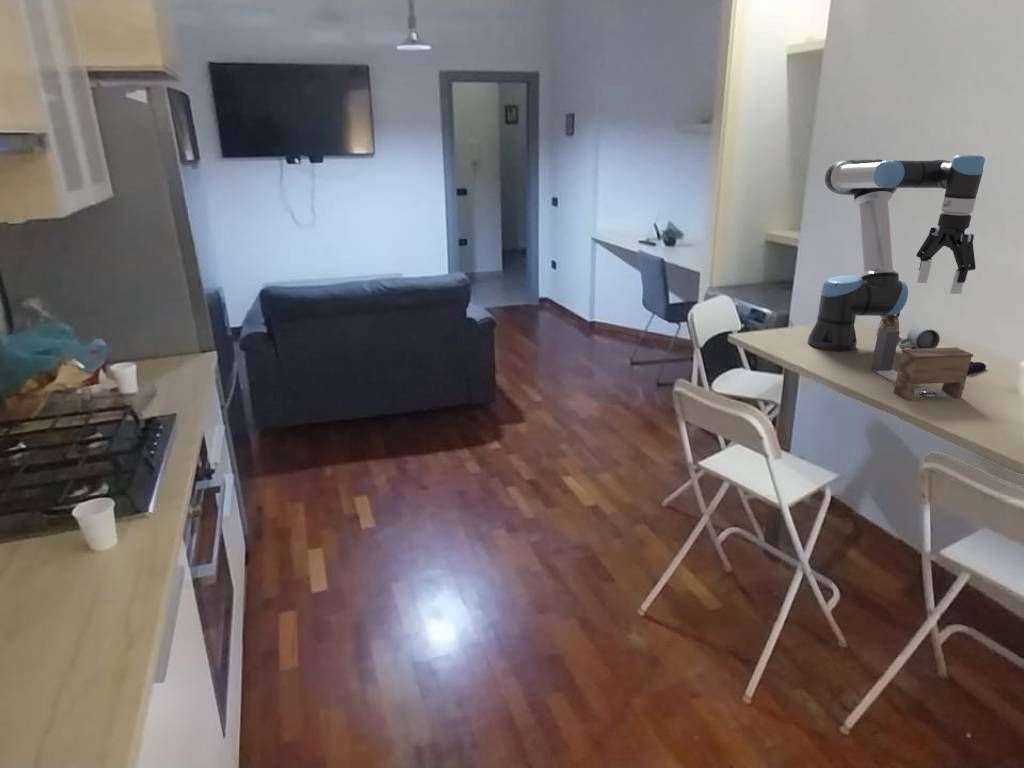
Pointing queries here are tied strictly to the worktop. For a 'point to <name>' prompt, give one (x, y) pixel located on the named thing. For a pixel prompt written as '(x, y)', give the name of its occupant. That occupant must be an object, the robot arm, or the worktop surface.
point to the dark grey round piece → (927, 393)
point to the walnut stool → (932, 370)
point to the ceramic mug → (921, 338)
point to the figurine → (889, 322)
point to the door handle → (976, 366)
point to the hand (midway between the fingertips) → (938, 288)
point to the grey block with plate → (886, 353)
